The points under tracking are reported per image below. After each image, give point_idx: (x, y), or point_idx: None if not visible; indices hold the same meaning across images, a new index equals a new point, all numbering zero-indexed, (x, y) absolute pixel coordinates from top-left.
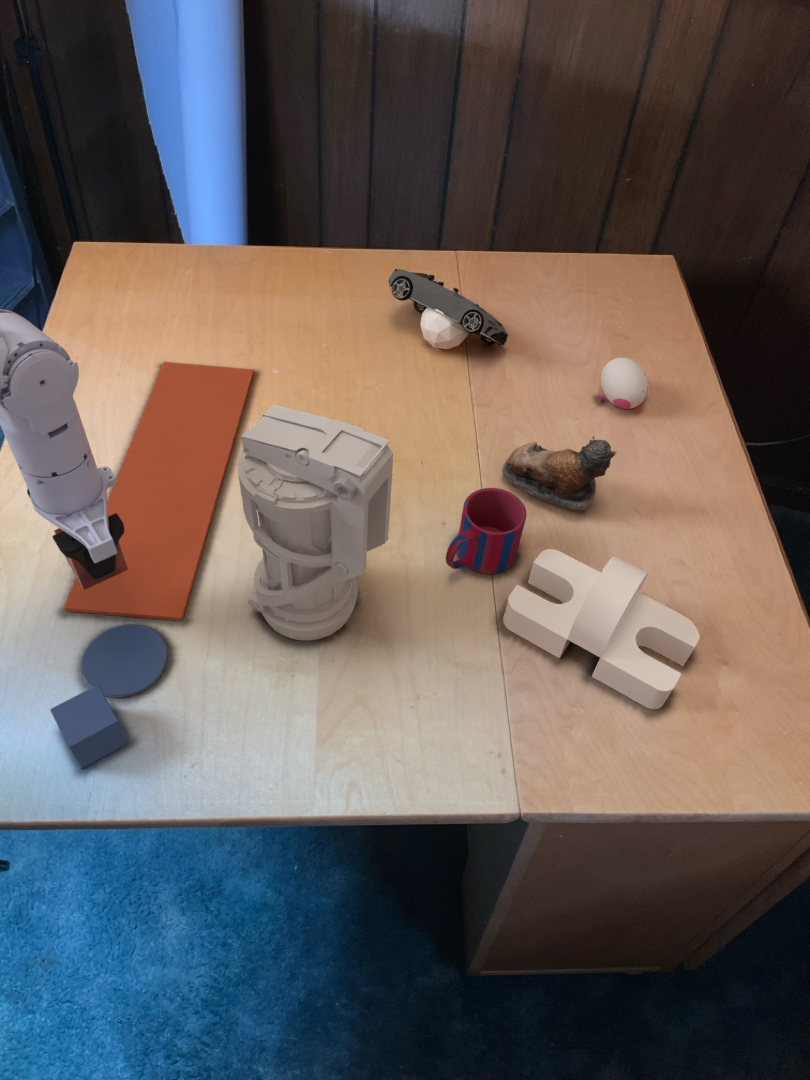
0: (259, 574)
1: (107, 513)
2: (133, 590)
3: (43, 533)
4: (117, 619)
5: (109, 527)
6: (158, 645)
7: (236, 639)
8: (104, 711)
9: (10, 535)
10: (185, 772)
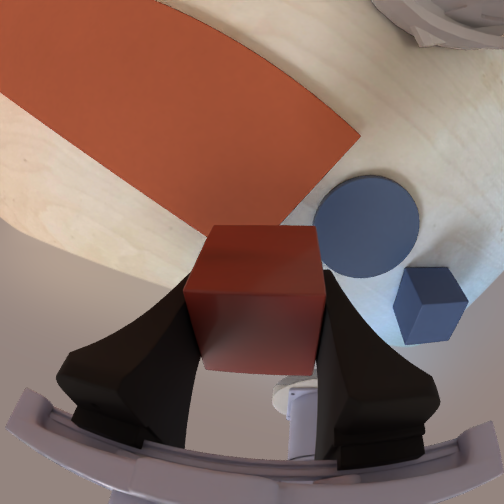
0: (416, 4)
1: (418, 489)
2: (266, 174)
3: (112, 236)
4: (297, 209)
5: (398, 421)
6: (380, 187)
7: (430, 92)
8: (451, 309)
9: (107, 265)
10: (500, 238)
